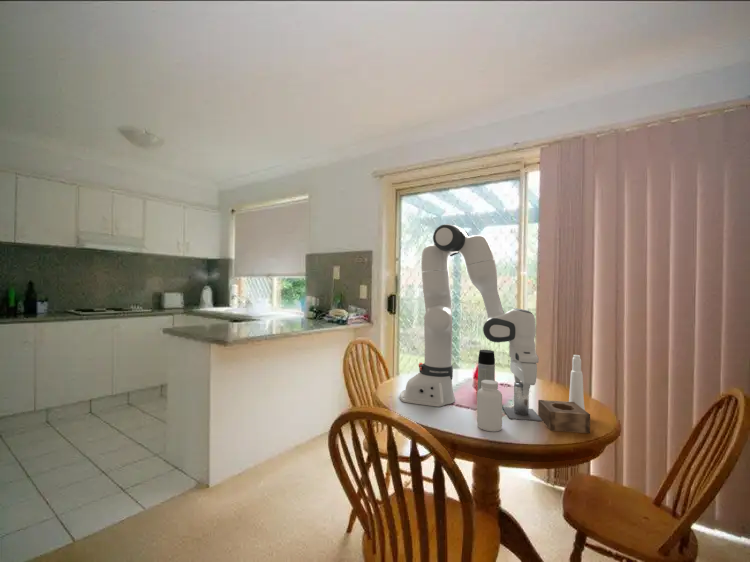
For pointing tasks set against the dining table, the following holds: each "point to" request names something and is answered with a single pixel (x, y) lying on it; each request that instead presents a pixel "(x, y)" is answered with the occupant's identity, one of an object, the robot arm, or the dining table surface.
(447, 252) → the robot arm
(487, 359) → the spray can
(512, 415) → the mat
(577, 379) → the cosmetic bottle
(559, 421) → the socket block
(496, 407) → the pill bottle
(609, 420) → the dining table surface
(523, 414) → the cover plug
